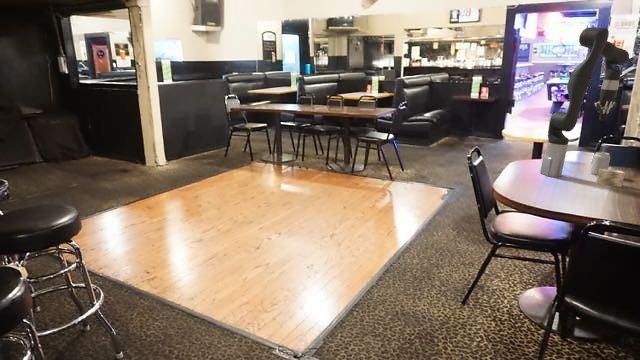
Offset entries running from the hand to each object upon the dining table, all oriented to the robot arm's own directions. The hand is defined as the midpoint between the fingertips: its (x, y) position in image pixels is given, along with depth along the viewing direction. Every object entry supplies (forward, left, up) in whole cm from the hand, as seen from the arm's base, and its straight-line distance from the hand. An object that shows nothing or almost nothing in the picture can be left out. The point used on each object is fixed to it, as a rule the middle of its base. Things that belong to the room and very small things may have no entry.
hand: (602, 120), depth 234 cm
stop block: (-17, -33, -27) cm, 46 cm away
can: (-9, -16, -27) cm, 33 cm away
